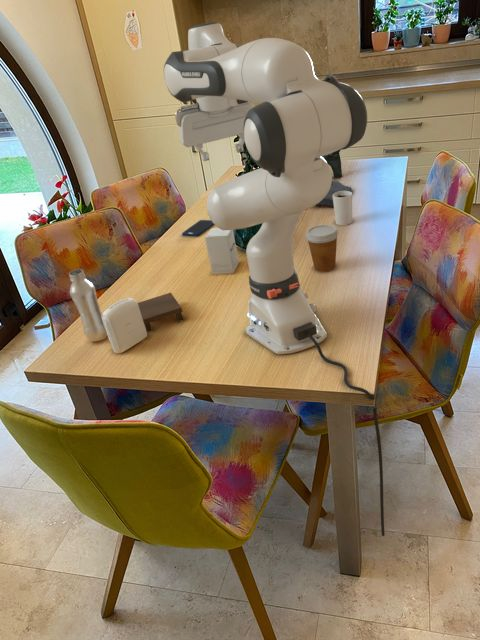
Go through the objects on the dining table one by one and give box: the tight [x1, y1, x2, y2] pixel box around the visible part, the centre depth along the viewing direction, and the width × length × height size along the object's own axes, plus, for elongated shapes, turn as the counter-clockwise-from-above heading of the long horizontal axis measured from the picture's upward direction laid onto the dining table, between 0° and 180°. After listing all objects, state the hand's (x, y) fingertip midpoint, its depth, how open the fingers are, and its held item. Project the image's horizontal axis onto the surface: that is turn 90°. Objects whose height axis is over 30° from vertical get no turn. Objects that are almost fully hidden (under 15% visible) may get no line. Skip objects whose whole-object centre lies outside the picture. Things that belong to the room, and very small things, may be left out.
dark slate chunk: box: [314, 179, 352, 208], centre depth 219 cm, size 15×22×5 cm
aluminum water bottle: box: [68, 268, 108, 342], centre depth 148 cm, size 6×7×20 cm
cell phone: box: [181, 219, 215, 237], centre depth 213 cm, size 7×14×1 cm, turn 153°
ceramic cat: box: [322, 149, 343, 179], centre depth 237 cm, size 20×6×20 cm, turn 94°
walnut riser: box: [137, 292, 184, 333], centre depth 157 cm, size 11×11×4 cm
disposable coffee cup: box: [305, 224, 339, 273], centre depth 167 cm, size 10×10×12 cm
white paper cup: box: [333, 191, 353, 226], centre depth 196 cm, size 7×7×10 cm
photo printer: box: [101, 297, 148, 354], centre depth 146 cm, size 10×4×12 cm, turn 139°
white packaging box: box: [204, 227, 240, 275], centre depth 176 cm, size 7×7×13 cm
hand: (223, 155), depth 144 cm, fingers open, 8 cm apart
